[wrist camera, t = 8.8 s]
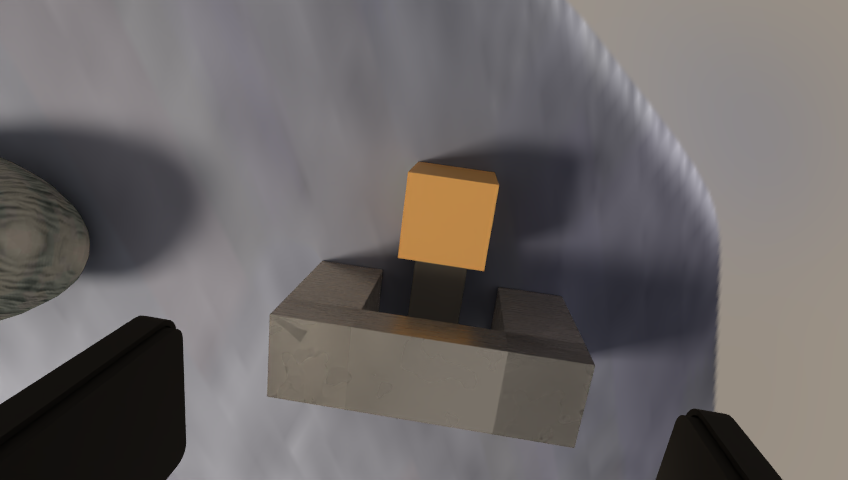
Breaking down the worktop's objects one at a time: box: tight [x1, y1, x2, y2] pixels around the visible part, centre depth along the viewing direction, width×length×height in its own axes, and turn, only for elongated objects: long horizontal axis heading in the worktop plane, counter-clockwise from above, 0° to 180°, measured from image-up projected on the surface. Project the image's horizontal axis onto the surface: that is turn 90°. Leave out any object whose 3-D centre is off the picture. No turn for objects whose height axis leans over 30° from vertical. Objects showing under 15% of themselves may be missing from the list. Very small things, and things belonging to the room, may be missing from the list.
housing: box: [267, 261, 595, 448], centre depth 23 cm, size 4×14×7 cm, turn 83°
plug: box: [398, 162, 499, 324], centre depth 24 cm, size 12×4×4 cm, turn 173°
